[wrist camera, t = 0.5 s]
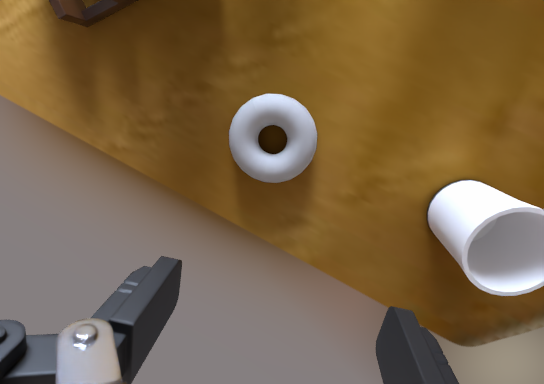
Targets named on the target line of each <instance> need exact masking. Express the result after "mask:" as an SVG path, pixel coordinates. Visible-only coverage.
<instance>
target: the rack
mask: <svg viewBox="0 0 544 384" xmlns="http://www.w3.org/2000/svg"><path fill="white" fill-rule="evenodd" d="M136 1H138V0H101V1H99V2H98V3H96V4H94V5H92V6H90V7H88V8H86V6H85V4H84V2H83V0H49V2H50V4H51V5H52V7H53V9H54V11H55V13H56V15H57V17H58V19H61V20H64V21H68V22H71V23H75V24H78V25H82V26H85V27H88V26H90V25H92V24H94V23H96V22H98V21H100V20H102V19H104V18H105V17H107V16H109V15H111V14H113V13H115V12H117V11H119V10H121V9H123V8H125V7H126V6H128V5H130V4H132V3H134V2H136Z"/></svg>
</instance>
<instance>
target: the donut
mask: <svg viewBox="0 0 544 384" xmlns="http://www.w3.org/2000/svg"><path fill="white" fill-rule="evenodd" d="M269 125H277V126H279V127H281V128H282V129H283V130H284V131H285V133H286V135H287V145H286V147H285V148H284V150H283V151H281V152H280V153H277V154H269V153H266V152H265V151H264V150H262V149H261V147H260V146H259V143H258V136H259V133H260V131H261V130H262V129H263V128H264V127H266V126H269ZM229 147H230V150H231V153H232V156H233V159H234V160H235V161H236V163H237V164H238V166H239V167H240V168H241V170H243V171H244V172H245V173H247V174H248V175H249V176H251V177H252V178H254V179H257V180H260V181H263V182H270V183H279V182H283V181H287V180H291V179H292V178H294V177H295V176H297V175H299V174H300V173H302V172H303V171H304V169H305V168H306V167H307V166H308V165H309V163H310V162H311V161H312V158H313V156H314V153H315V151H316V147H317V131H316V127H315V123H314V120H313V119H312V117H311V115H310V114H309V112H308V111H307V109H306V108H305V107H304V106H302V105H301V104H300V103H299V102H298V101H296V100H295V99H293V98H290V97H287V96H285V95H282V94H264V95H261V96H258V97H254V98H252V99H251V100H249V101H248V102H247V103H245V104H244V105H243V106H241V108H240V109H239V111H238V112H237V113H236V115H235V116H234V118H233V120H232V124H231V127H230V130H229Z"/></svg>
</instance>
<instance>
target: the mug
mask: <svg viewBox="0 0 544 384" xmlns="http://www.w3.org/2000/svg"><path fill="white" fill-rule="evenodd" d="M427 221H428V225H429V227H430V229H431V230H432V232H433V233H434V234H435V236H436V237H437V238H438V239H439V241H440V242H441V243H442V244H443V245H444V247H445V248H446V249H447V250H448V251H449V253H450V254H451V255H452V256H453V258H454V259H455V260H456V261H457V262H458V264H459V265H460V267H461V268H462V270H463V271H464V273H465V274H466V276H467V277H468V279H469V280H470V281H471V282H472V283H473V284H474V285H475V286H477V287H478V288H479V289H481V290H483V291H486V292H488V293H490V294H495V295H500V296H515V295H520V294H524V293H529V292H531V291H534V290H536V289H538V288H540V287H542V286H544V210H543V209H541V208H538V207H535V206H533V205H530V204H527V203H524V202H522V201H519V200H517V199H515V198H513V197H511V196H509V195H507V194H504V193H502V192H500V191H498V190H496V189H494V188H492V187H490V186H488V185H486V184H483V183H481V182H479V181H474V180H459V181H456V182H453V183H450V184H448V185H447V186H445V187H443V188H442V189H440V190H439V191H438V192H437V193H436V194H435V195H434V197H433V198H432V200H431V201H430V203H429V206H428V209H427Z"/></svg>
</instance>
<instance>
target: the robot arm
mask: <svg viewBox="0 0 544 384" xmlns="http://www.w3.org/2000/svg"><path fill="white" fill-rule="evenodd" d="M181 269H182V261H181V260H178V259H174V258H169V257H164V256H161V257H160V258H159V260H158V261H157V262H156V263H155V264H154V265H153V267H152V268H151V267H147V266H143V267H142V268H140V269H138V270H136V271H134V272H132V273H131V274H130V275H129V276H128V278H127V279H126V280H125V281H124V283H123V284H121V285H120V286H119V287H118V289H117V291H115V292H114V293H113V294H112V295H111V296H110V297H109V298H108V299H107V301H106V302H105V303H104V304H103V305H102V306H101V307H100V308H99V309H98V310H97V312H96V313H95V314H94V315H93V316H92V317H91V318H88V319H82V320H79V321H76V322H74V323H72V324H70V325H69V326H67V327H65V328H64V329H63V330H62V331H61V332H60V333H59V334H47V335H26V332H25V327H24V325H23V324H21V323H20V322H18V321H14V320H0V384H131V383H132V381H133V380H134V378H135V376H136V374H137V373H138V371H139V369H140V367H141V366H142V364H143V362H144V361H145V359H146V357H147V355H148V354H149V352H150V350H151V349H152V347H153V345H154V343H155V342H156V340H157V338H158V336H159V335H160V333H161V331H162V330H163V328H164V326H165V324H166V323H167V321H168V319H169V317H170V315H171V314H172V312H173V310H174V308H175V306H176V303H177V300H178V296H179V288H180V279H181ZM376 356H377V360H378V364H379V368H380V372H381V376H382V379H383V383H384V384H459V383H458V381H457V379H456V377H455V375H454V373H453V371H452V369H451V367H450V366H449V365H448V361H447V359H446V357H445V356H444V355H443V351H442V349H441V348H440V346H439V344H438V342H437V340H436V339H435V338H434V337H433V335H432V334H431V333H430V332H429V331H428V330H427V329H426V328H424V327H420V325H419V323H418V321H417V319H416V317H415V315H414V313H413V311H411V310H407V309H402V308H397V307H393V306H391V307H389V309H388V311H387V313H386V316H385V318H384V321H383V324H382V327H381V329H380V332H379V335H378V338H377V341H376Z"/></svg>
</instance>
